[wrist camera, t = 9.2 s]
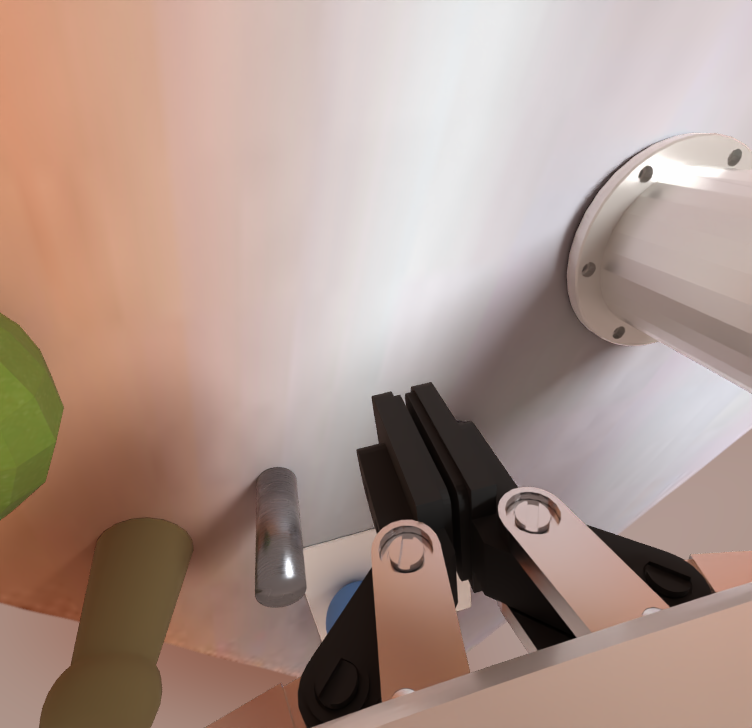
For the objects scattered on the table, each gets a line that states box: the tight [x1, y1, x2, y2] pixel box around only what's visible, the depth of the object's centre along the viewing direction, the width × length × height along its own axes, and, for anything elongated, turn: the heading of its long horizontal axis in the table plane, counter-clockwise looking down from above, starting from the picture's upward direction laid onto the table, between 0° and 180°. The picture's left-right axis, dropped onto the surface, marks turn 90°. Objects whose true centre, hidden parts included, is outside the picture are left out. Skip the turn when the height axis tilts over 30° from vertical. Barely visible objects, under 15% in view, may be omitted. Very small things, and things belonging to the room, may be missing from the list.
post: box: [255, 467, 307, 607], centre depth 26 cm, size 3×3×8 cm
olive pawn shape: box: [39, 518, 193, 728], centre depth 25 cm, size 6×6×11 cm
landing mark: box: [303, 528, 471, 641], centre depth 37 cm, size 14×14×1 cm
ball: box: [326, 581, 362, 634], centre depth 35 cm, size 6×6×6 cm
